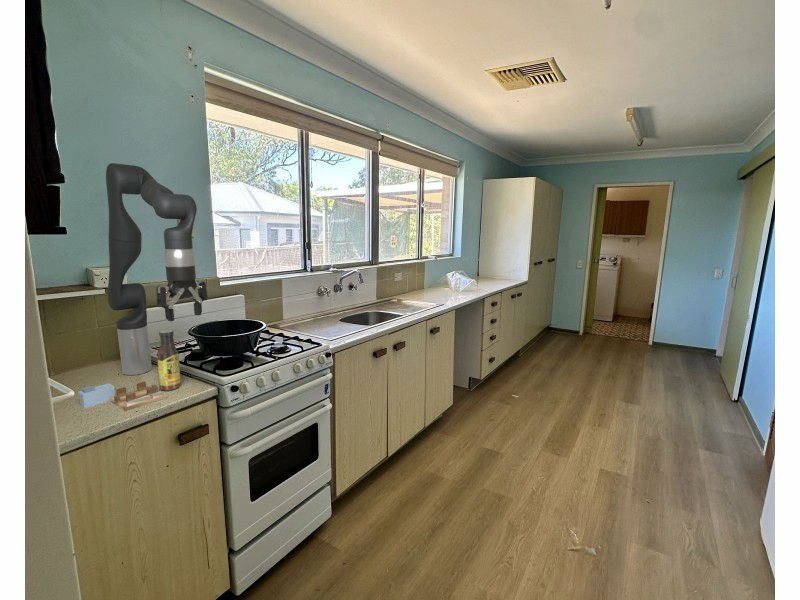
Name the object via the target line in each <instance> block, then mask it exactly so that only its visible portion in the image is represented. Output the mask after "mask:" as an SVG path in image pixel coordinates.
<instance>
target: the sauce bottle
mask: <svg viewBox="0 0 800 600" xmlns="http://www.w3.org/2000/svg"><path fill="white" fill-rule="evenodd" d="M158 333H159V338H160V342H159V343H160V346H159V348H158V350H157V352H156V354H157V360H156V362H157V371H158V385H159V390H161V391H164V392H165V391H167V392H168V391H173V390H176V389H178V388H180V386H181V371H180V355H179V354H180V353H179V351H178V350H177V348H176V345H175V343H174V330H173V329H163V330H160V331H159V332H158Z"/></svg>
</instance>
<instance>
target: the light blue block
mask: <svg viewBox="0 0 800 600" xmlns="http://www.w3.org/2000/svg"><path fill="white" fill-rule="evenodd" d="M77 392H78V398H79V400H78V401H79V405H80V406H81V407H82V408H83V409H88V408H91V407H93V406H97V404H98V405H101V404H104V403H107V402H106V401H108V402H111V401H110V398H112V397H114V396H116V388H115V385H113V384H111V383H109V382H108V383H103V384H101V385H98V386H97V385H96V386H93V385H89V386H85V387H81V390H79V391H77ZM103 402H104V403H103ZM100 403H101V404H100Z"/></svg>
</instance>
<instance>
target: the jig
mask: <svg viewBox="0 0 800 600" xmlns="http://www.w3.org/2000/svg"><path fill="white" fill-rule="evenodd" d="M136 389H137V390H133V391H130V392H127V387H126V386H123V387H119V388H115V393H116V395H115V396H114V397H112V398H110V401H109V402H111V403H113V404H114V405H116V406H117V407H118V408H120V409H122V410H123V411H124V412H127V411H129V410H134V409H135V408H139V407H142V406H145V405H148V404H151V403H154V402H157V401H161V400H164V399H166V398H167V394H165V393H163V392H162V390H161V391H160V390H159V388H158V385H155V384H151V386H147V382H146V381H139V382H137V383H136ZM163 398H164V399H163ZM160 399H161V400H160Z"/></svg>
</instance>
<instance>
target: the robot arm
mask: <svg viewBox="0 0 800 600" xmlns="http://www.w3.org/2000/svg"><path fill="white" fill-rule="evenodd" d="M105 185H106V193H107V203H108V204H107V205H108V259H109V260H108V261H109V269H108V270H109V272H108V282H107V303H108V305H109V308H110V309H111V310H113V311H124V310H131V312H129V313H128V314H126V316H123V317H121V318H119V319H117V321H116V330H117V338H118V339H117V340H118V347H119V353H120V354H119V355H120V362H121V371H122V375H126V376H135V375H141V374H145V373H147V372H149V371H151V370H152V369H153V368H152V358H151V357H152V356H151V348H150V339H149V338H150V337H149V330H148V329H149V328H148V315H147V314H148V313H147V312H148V311H147V293H146V290H145V287H144V285H143V284H141V283H140V282H139V283H138V282H134V283H133V282H132V283H124V279H125V276H126V274H127V273H128V271H129V269H130V268H131V267H132V266H133V265H134V263H136V261H137V259H138V258H139V257H140V255H141V252H142V241H143V240H142V236H143V235H142V231H141V230H140V228H139V226H138V225H137V223H136V221H134V220H133V218H132V217H131V216H130V214H129V213H128V211H127V209H126V207H125V205H124V201H123V195H134V196H136V195H140V197H141V198H142V200H143V201H144V202H145V203H146V204H148V205H149V206H150V207H152V208H153V210H154V212H155V214H156V216H157V217H159V218H162V219H164V220H165V219H166V220H179V222H178V224H177V225H176V226H172V227H168V228H165V230H163V239H164V262H165V263H164V264H165V271H166V272H165V274H166V275H165V276H166V281H167V285H166V286H165V285H164V286H160V285H159V286H156V293H155V294H156V307H158V308H162V309H164V314H165V315H164V316H165V319H166V320H167V321H168V322H175V314H174V313H175V312H174V306H175V304H176V303H178V301H179V300H182V299H191V300H192V301H193V313H194V315H195V316H201V315H202V312H203V306H202V303H203V302H204V301H207V300H208V292H207V283H206V282H205V281H201V280H198V281H196V279H197V275H196V273H197V272H196V262H195V260H196V259H195V254H194V249H193V229H194V225H195V224H194V223H195V220H196V215H197V210H198V209H197V208H198V206H197V203H196V201H195V199H194V198H193V197H192V196H190V195H189V194H180V193H174V192H173V191H172V190H171V189H170V188H168V187H166V186H164V184H160V183H159V182H158V181H157V180H156V179H155V178H154V177H153V176H152V175H151V174H150V172H148V171H147V170H146V169H145V168H143V167H141V166H138V165H133V164H132V165H131V164H124V163H116V162H115V163H114V162H113V163H108V165H107V167H106V169H105ZM196 289H197V292H196ZM168 292H169V293H168ZM167 294H168V295H167Z"/></svg>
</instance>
